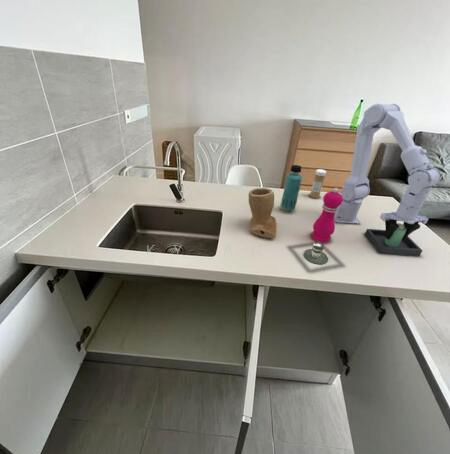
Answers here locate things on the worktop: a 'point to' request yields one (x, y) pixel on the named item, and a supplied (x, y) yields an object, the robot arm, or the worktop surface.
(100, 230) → the worktop surface
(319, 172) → the sprinkles bottle
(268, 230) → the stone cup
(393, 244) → the mint green cylinder
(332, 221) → the pepper mill
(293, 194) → the beverage bottle
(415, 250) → the dark gray rectangular tray
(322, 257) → the pot lid
